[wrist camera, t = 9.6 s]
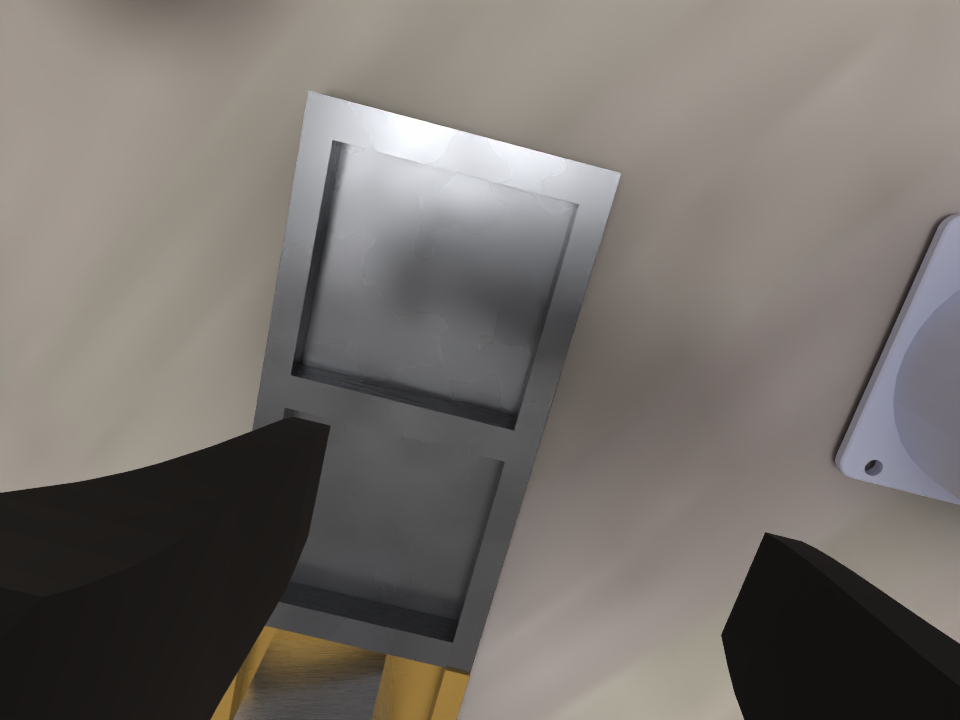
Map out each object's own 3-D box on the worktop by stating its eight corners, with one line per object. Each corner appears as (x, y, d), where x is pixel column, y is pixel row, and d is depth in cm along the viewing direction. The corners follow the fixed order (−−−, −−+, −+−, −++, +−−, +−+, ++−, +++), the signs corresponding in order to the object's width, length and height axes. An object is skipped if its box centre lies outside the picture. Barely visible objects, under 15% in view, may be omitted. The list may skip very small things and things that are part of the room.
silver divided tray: (612, 171, 19) (621, 173, 17) (423, 803, 26) (418, 844, 24) (323, 95, 18) (307, 90, 17) (210, 755, 25) (191, 794, 24)
